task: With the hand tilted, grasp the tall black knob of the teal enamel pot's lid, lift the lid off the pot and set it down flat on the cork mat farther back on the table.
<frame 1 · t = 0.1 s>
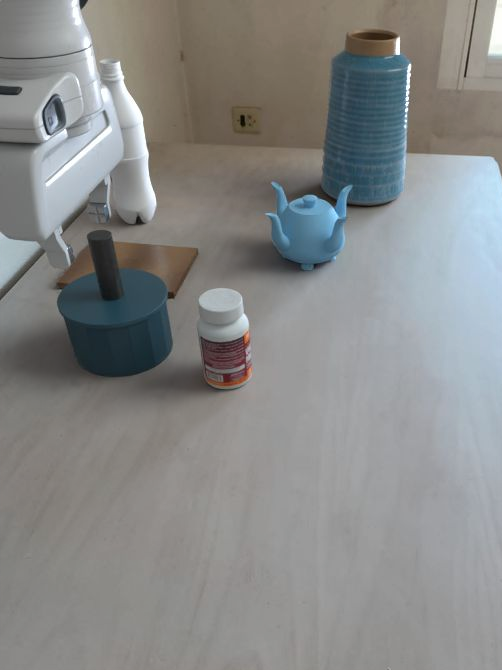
hand: (83, 241, 61), 21 cm above the table, tool pointing down, fingers open, 8 cm apart
pill bottle: (228, 377, 80), on the table
vase: (361, 192, 124), on the table
lid: (113, 298, 79), point 7 cm above the table, touching pot
pot: (125, 347, 84), on the table
water bottle: (138, 219, 113), on the table
mat: (131, 270, 99), on the table
teapot: (308, 257, 104), on the table
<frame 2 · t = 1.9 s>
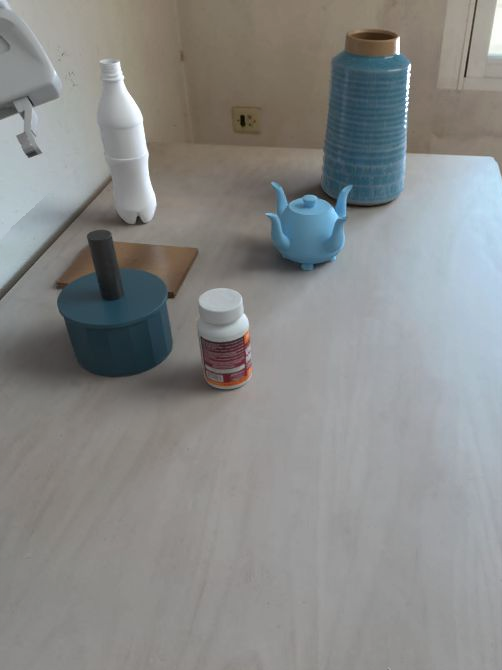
nothing on the table moved.
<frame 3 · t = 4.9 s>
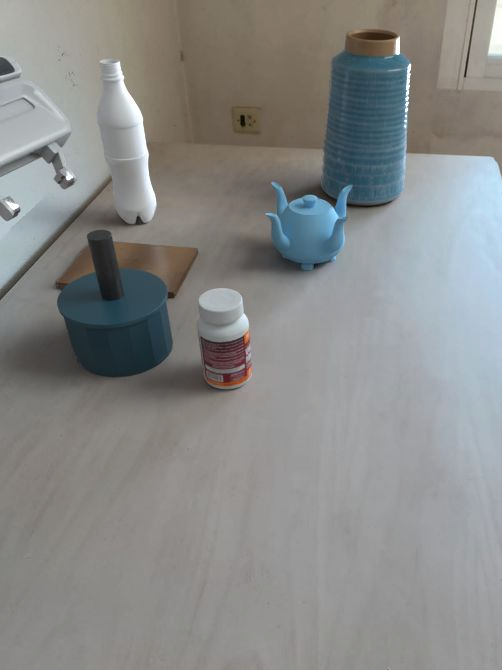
hand: (44, 199, 72), 19 cm above the table, tool tilted 45°, fingers open, 8 cm apart
nothing on the table moved.
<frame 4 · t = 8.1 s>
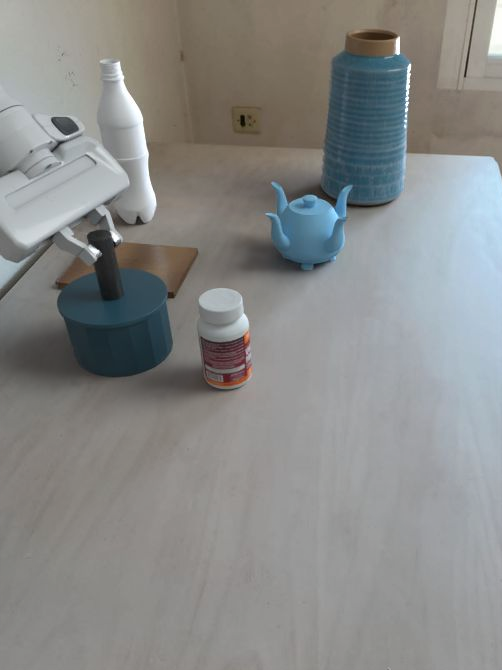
hand: (107, 253, 75), 14 cm above the table, tool tilted 45°, fingers closed on lid, 3 cm apart
lid: (113, 298, 79), point 8 cm above the table, touching gripper, pot
everything else where it was.
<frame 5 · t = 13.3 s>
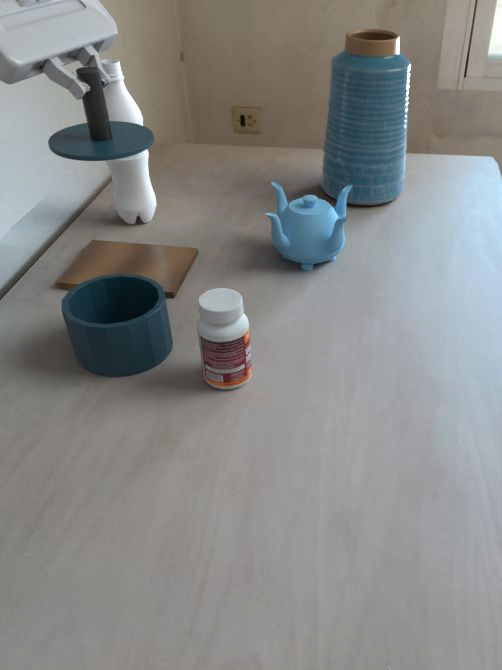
hand: (95, 90, 79), 27 cm above the table, tool tilted 45°, fingers closed on lid, 3 cm apart
lid: (102, 142, 83), point 20 cm above the table, touching gripper
everything else where it was.
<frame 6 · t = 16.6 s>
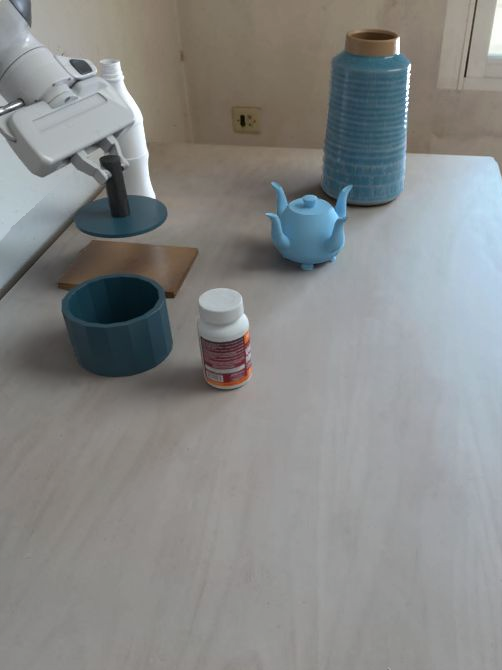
hand: (116, 175, 89), 15 cm above the table, tool tilted 45°, fingers closed on lid, 3 cm apart
lid: (121, 217, 93), point 9 cm above the table, touching gripper
everything else where it was.
when the fingers open (8 cm above the table, at t = 18.9 s): lid stays where it is, resting on mat.
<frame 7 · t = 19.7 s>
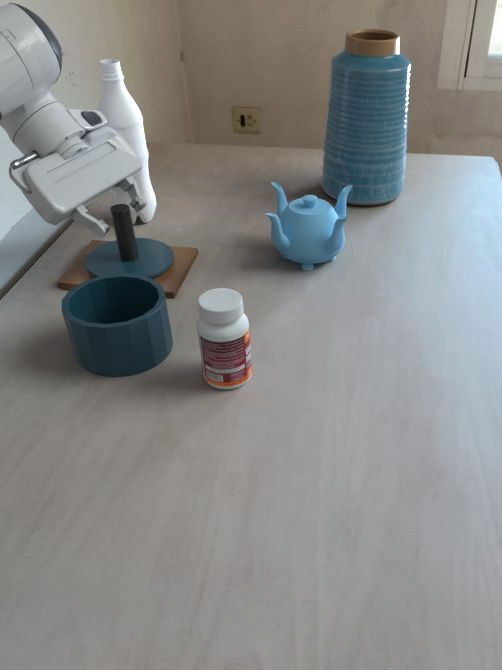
hand: (124, 220, 93), 8 cm above the table, tool tilted 45°, fingers open, 8 cm apart
lid: (130, 261, 98), point 2 cm above the table, touching mat
everything else where it was.
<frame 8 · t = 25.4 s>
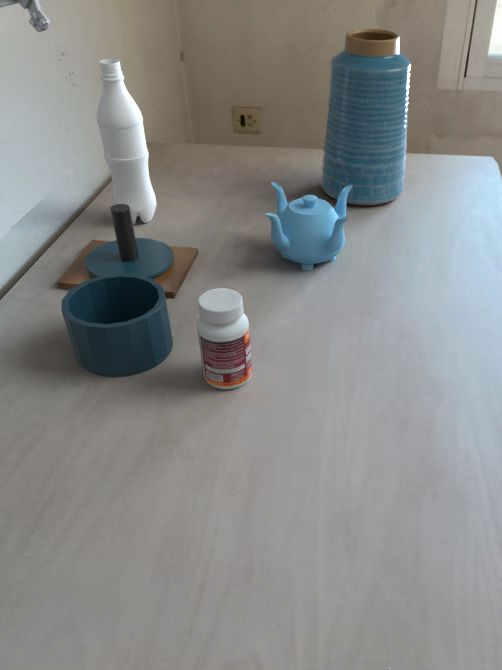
hand: (20, 35, 80), 31 cm above the table, tool tilted 45°, fingers open, 8 cm apart
nothing on the table moved.
at the end: lid inside the target area on the mat (0.1 cm from its centre), point 1.6 cm above the mat's base; lid tilted 0°; the gripper is holding nothing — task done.
